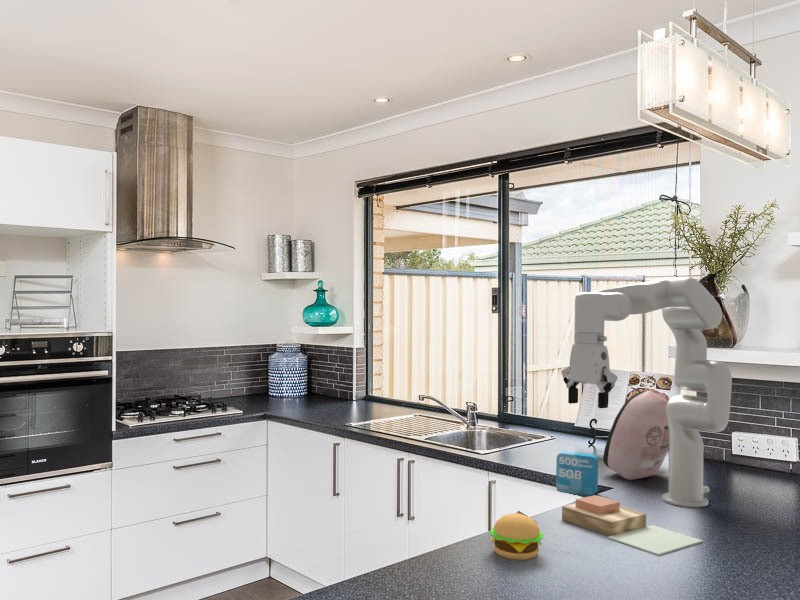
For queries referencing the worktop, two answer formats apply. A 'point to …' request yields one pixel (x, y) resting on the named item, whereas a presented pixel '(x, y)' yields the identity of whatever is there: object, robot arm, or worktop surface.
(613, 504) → the terracotta coaster
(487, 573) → the worktop surface
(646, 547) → the sage mat
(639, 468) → the pink rounded piece
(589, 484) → the data package
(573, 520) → the oak board
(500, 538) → the hamburger
